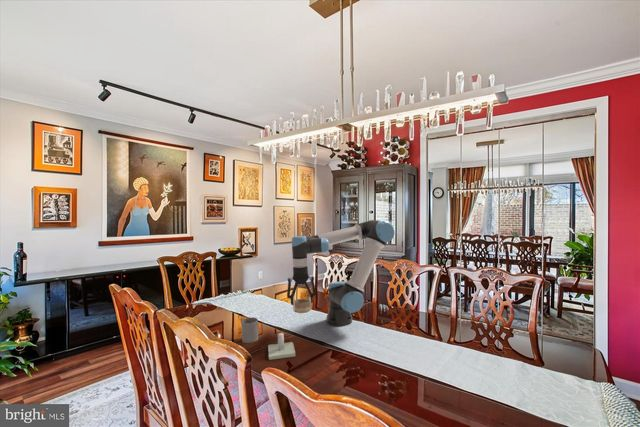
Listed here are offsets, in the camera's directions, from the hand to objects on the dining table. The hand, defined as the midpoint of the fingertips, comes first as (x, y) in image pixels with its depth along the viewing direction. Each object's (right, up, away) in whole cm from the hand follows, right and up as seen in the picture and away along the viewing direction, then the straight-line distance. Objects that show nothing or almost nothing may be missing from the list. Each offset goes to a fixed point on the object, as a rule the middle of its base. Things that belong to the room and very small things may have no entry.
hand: (302, 310), depth 158 cm
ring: (0, 0, 0) cm, 0 cm away
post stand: (-9, -15, -14) cm, 23 cm away
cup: (-27, -16, +2) cm, 32 cm away
